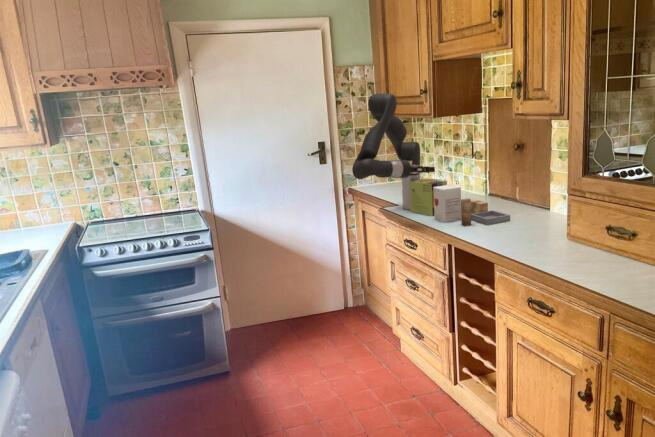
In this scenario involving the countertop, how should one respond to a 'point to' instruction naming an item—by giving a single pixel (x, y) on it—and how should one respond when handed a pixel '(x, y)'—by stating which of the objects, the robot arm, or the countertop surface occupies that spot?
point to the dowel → (466, 212)
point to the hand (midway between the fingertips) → (428, 169)
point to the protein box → (423, 195)
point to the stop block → (478, 206)
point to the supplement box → (447, 203)
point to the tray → (490, 217)
